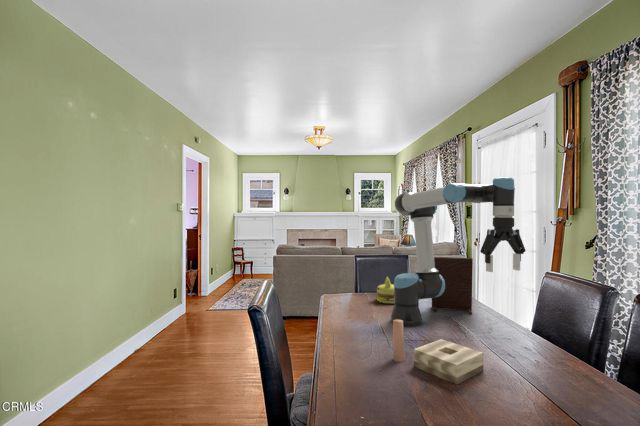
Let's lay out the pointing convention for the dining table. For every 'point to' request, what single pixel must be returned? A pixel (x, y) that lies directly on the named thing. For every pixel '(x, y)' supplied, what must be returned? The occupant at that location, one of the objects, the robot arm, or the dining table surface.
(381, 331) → the dining table surface
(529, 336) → the dining table surface
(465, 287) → the dark brown wooden cabinet
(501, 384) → the dining table surface
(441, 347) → the bore block
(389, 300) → the toy
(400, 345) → the pin
